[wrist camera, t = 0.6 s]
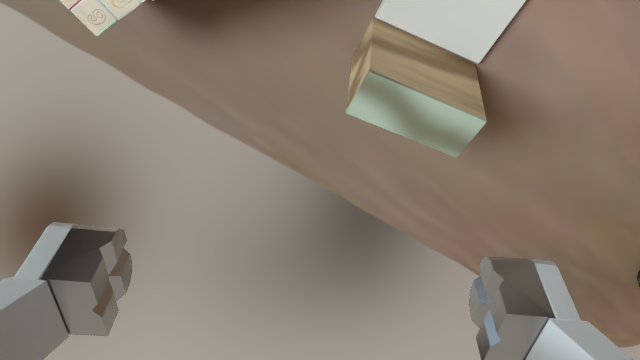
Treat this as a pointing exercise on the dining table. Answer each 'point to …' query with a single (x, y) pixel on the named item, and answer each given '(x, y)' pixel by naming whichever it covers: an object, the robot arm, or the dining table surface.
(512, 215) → the dining table surface
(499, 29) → the felt mat
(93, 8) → the stack of blocks
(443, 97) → the oak block
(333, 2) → the dining table surface
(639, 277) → the pen holder
